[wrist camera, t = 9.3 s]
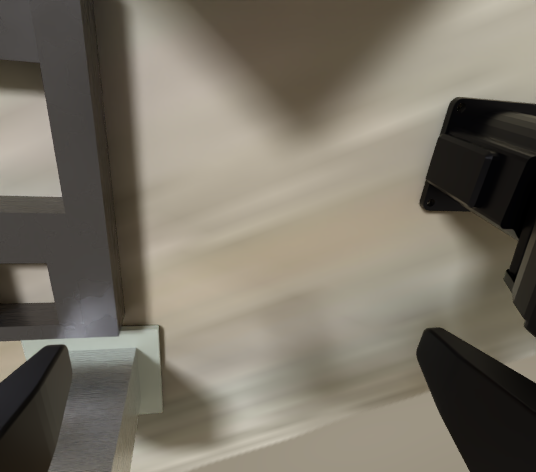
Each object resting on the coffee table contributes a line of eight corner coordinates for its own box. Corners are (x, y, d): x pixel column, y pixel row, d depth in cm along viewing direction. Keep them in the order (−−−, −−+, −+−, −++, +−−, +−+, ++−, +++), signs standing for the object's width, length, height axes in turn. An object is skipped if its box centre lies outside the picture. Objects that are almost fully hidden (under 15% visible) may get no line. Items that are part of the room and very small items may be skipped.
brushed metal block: (136, 347, 24) (110, 473, 17) (141, 399, 26) (120, 530, 19) (52, 351, 23) (-12, 487, 16) (65, 405, 25) (14, 545, 18)
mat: (158, 325, 24) (158, 329, 24) (163, 407, 28) (162, 412, 27) (22, 330, 22) (19, 334, 22) (45, 417, 26) (43, 422, 26)
